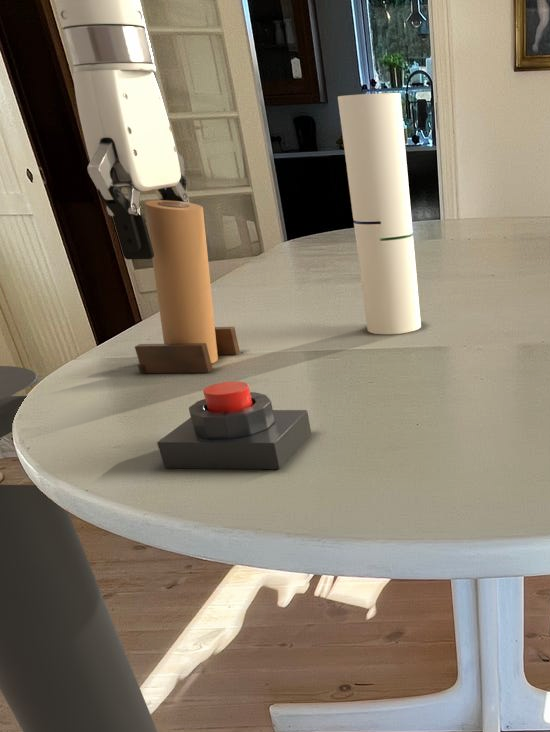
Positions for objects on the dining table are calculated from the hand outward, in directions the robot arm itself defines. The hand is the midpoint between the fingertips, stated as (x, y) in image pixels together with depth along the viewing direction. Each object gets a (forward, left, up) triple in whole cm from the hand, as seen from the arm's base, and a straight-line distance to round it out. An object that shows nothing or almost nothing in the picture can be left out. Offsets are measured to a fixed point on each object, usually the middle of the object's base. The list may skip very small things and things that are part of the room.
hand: (162, 251), depth 81 cm
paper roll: (0, 0, -11) cm, 11 cm away
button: (+18, -28, -8) cm, 34 cm away
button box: (+18, -28, -12) cm, 35 cm away
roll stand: (0, 0, -12) cm, 12 cm away
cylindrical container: (+21, +16, -12) cm, 29 cm away
